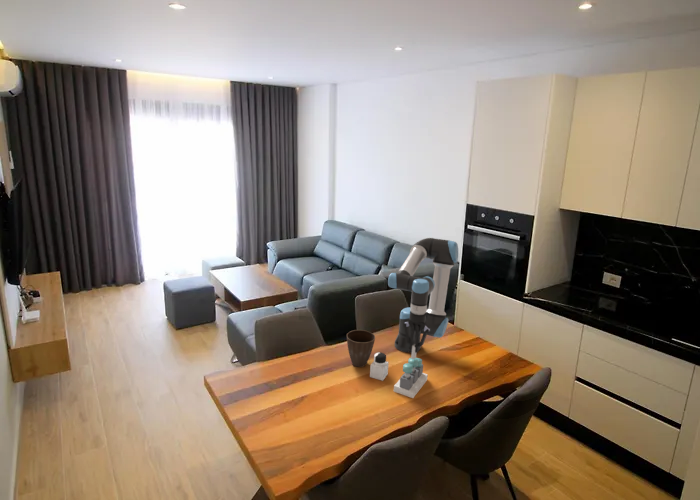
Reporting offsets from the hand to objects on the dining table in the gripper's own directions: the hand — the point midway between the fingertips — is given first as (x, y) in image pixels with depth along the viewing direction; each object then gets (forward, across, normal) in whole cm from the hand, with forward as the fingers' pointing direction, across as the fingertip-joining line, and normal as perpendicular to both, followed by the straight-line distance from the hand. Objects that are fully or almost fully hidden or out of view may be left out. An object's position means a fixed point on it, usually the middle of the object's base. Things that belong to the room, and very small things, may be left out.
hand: (413, 357), depth 207 cm
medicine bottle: (+15, -17, -1) cm, 23 cm away
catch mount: (+15, 0, 0) cm, 15 cm away
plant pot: (+15, -31, +4) cm, 35 cm away
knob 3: (+12, 0, +7) cm, 14 cm away
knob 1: (+9, 0, -6) cm, 11 cm away
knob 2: (+9, 0, 0) cm, 9 cm away
